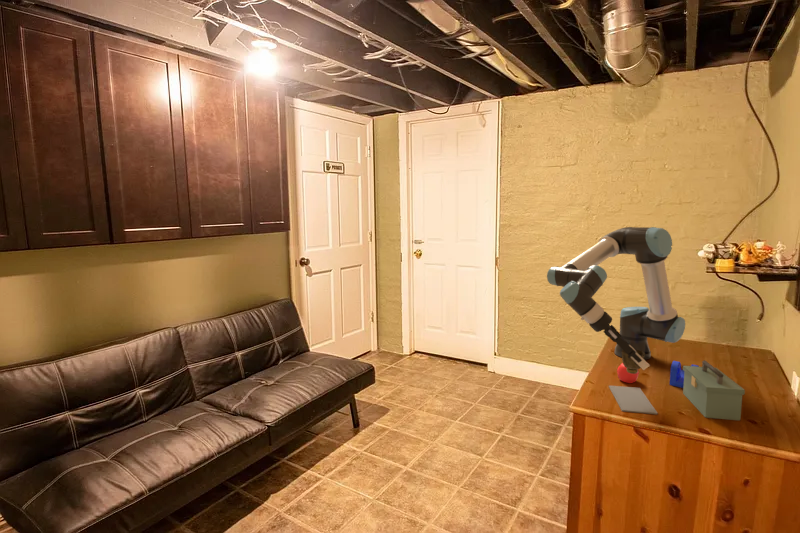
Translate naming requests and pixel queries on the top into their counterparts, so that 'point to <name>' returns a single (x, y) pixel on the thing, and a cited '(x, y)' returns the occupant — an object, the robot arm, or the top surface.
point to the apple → (626, 374)
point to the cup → (631, 362)
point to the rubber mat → (632, 400)
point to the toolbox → (712, 392)
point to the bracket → (677, 374)
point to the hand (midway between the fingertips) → (643, 363)
